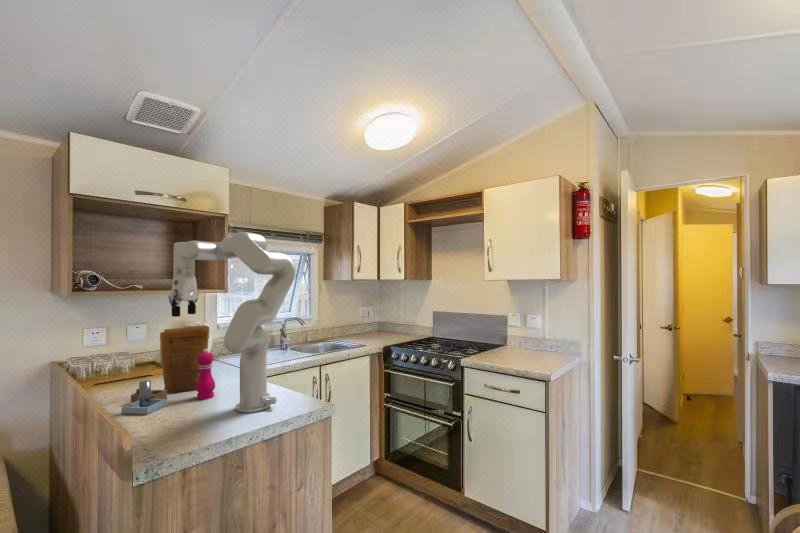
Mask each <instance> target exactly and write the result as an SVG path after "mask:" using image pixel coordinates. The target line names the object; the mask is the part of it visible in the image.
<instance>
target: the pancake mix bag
mask: <svg viewBox="0 0 800 533" xmlns="http://www.w3.org/2000/svg"><path fill="white" fill-rule="evenodd" d="M209 338H210V326H208V325H197V326H195V325H194V326H185V327H179V328H167V329H163V331H160V334H159V340H160V341H159V342H160V343H159V345H160V349H159V350H160V352H159V353H160V357H161V358H160V360H161V369H162V378H163V383H164V384H163V385H164V387H163V388H164V389H163V390H167V394H176V393H184V392H191V391H196V384H197V381H198V379H199V376H200V369H199V365H200V364H199V363H198V360H197V359H198V356H199V355H200V354H201V353H204V352H203V350H204V349H208V347H209ZM208 350H209V349H208Z"/></svg>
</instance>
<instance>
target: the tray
mask: <svg viewBox="0 0 800 533" xmlns="http://www.w3.org/2000/svg"><path fill="white" fill-rule="evenodd" d="M167 401H168V398H167V399H151V406H149V407H139V401H136V402H134V403H131V402H130V404H127V405H124V406H122V407H121V415H125V416H126V415H127V414H128V415H132V414H133V415H132V416H135V415H136V416H139V415H140V416H147V415H150V414H153V413H155V412H157V411H159V410H161V409H164V408H165V407H167ZM128 415H127V416H128Z"/></svg>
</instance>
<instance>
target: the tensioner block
mask: <svg viewBox="0 0 800 533" xmlns="http://www.w3.org/2000/svg"><path fill="white" fill-rule="evenodd" d="M151 399H167V400H168V393H167V390H164V389H151ZM136 401H139V388H137V389H136V390H135V392H134V393H131V394H130V404H131V403H134V402H136Z"/></svg>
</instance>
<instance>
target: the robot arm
mask: <svg viewBox="0 0 800 533" xmlns="http://www.w3.org/2000/svg"><path fill="white" fill-rule="evenodd" d="M267 247H268V242H267V240H266V238H265V237H264V236H263V235H261V234H259V233H254V232H248V231H238V232H235V233H234V234H232V235H229V236H225V237H223V239H222V241H217V242H215V241H214V242H213V241H211V242H210V241H204V240H203V241H202V240H189V241H188V240H187V241H179V242H178V241H177V242H175V243H174V244H173V271H172V272H173V276H172V277H173V278H172V283H171V284H172V285H171V292H170V293H169V294H168V295H167V298H168V301H169V304H170V307H171V317H173V318H174V317H180V316H181V302H182V301H183V302H187V303H188V304H187V314H188V315H196V314H197V303H198V299H199V293H198V283H197V278H196V276H195V275H196V270H195V269H196V264H195V261H196V260H198V261H221V260H223V261H224V260H230V259H234V258H235V259H237V258H238V259H239V260H240V261H241V262H242V263H243V264H245V265H246V266H247V268H249V269H250V270H251V271H252V272H254V273H255V274H258V275H262V276H263V275H266V276H269V275H271V276H272V277H271V278H270V279H269V280H268V281H267V282H266V284H265V285H264V287H263V288H262V291H261V292H260V294H259V296H258V297H257V298H256V299H254V298H253V299H249V300H246V301H244V302H242V303H241V304H240V305H239V306H238V308H237V309H236V311H235V312H234V315H233V317H232V319H231V321H230V323H229V325H228V326H227V328H226V332H225V334H224V340H223V342H224V347H225V349H227V351H229V352H230V353H232V354H233V353H234V354H240V357H239V403H237V404H236V405H235V408H234V410H235V411H236V412H239V413H246V414H247V413H256V412H257V411H258V412H261V410H262V411H265V410H267V409H268V407H269V408H270V407H271V406H272V405H276V404H277V396H275V397H274V396H273V397H271V396H270V392H268V391H267V390H268V389H267V385H268V383H267V381H268V380H267V374H268V373H267V371H268V370H267V369H268V368H267V366H268V365H267V363H268V362H267V360H268V359H267V356H268V355H267V354H268V346H269V341H270V333H269V329H268V328H267V326H265V325H268V324H269V323H273V321H274V320H275V319H276V317H277V315H278V313H279V311H280V309H281V307H282V305H283V303H284V300H285V299H286V296H287V295H288V293H289V291H290V289H291V287H292V285H293V284H294V281H295V277H296V265H295V264H294V261H293V259H292V258H291V257H290V256H289V255H287V254H286V253H282V252H278V251H268V250H267V249H268V248H267ZM266 250H267V251H266ZM266 408H267V409H266ZM264 409H265V410H264Z"/></svg>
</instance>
